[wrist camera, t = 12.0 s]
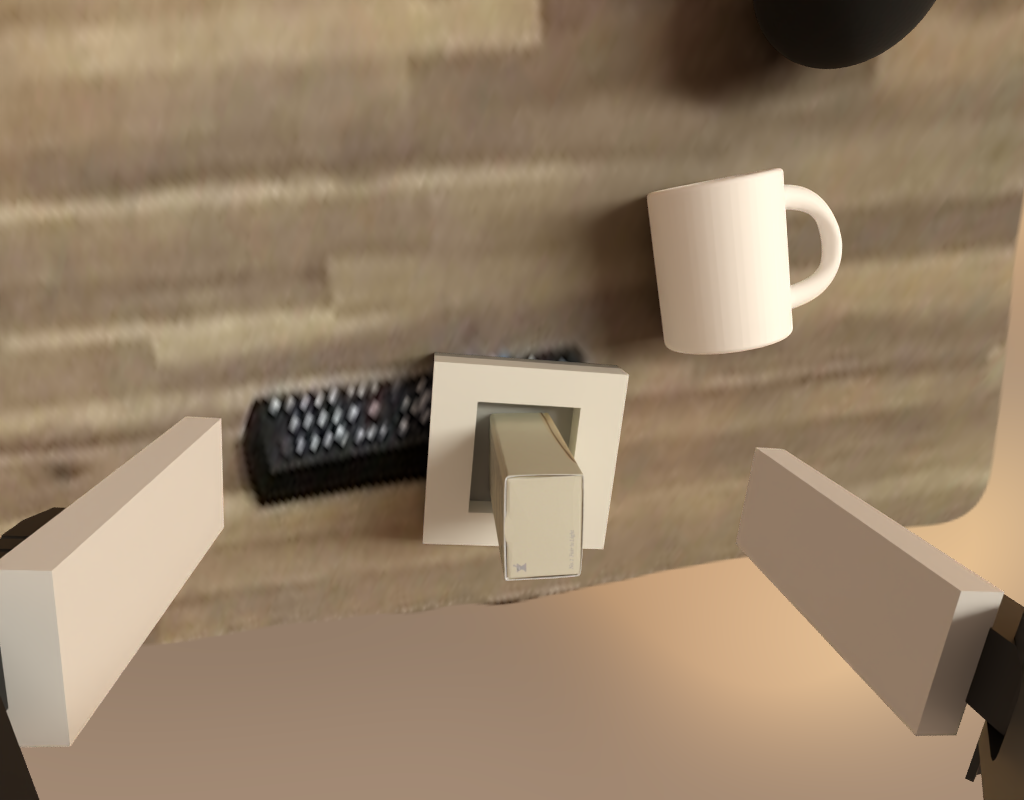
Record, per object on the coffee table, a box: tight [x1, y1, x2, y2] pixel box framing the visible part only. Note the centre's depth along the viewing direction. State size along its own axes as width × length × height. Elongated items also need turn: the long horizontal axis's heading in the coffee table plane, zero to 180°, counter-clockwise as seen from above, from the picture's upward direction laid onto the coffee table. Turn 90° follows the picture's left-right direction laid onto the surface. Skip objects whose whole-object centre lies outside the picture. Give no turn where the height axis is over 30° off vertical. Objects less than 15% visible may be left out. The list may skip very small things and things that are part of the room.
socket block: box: [423, 352, 629, 549], centre depth 44 cm, size 13×13×3 cm
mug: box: [647, 168, 842, 354], centre depth 40 cm, size 12×10×8 cm
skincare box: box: [489, 413, 584, 581], centre depth 39 cm, size 6×4×12 cm
